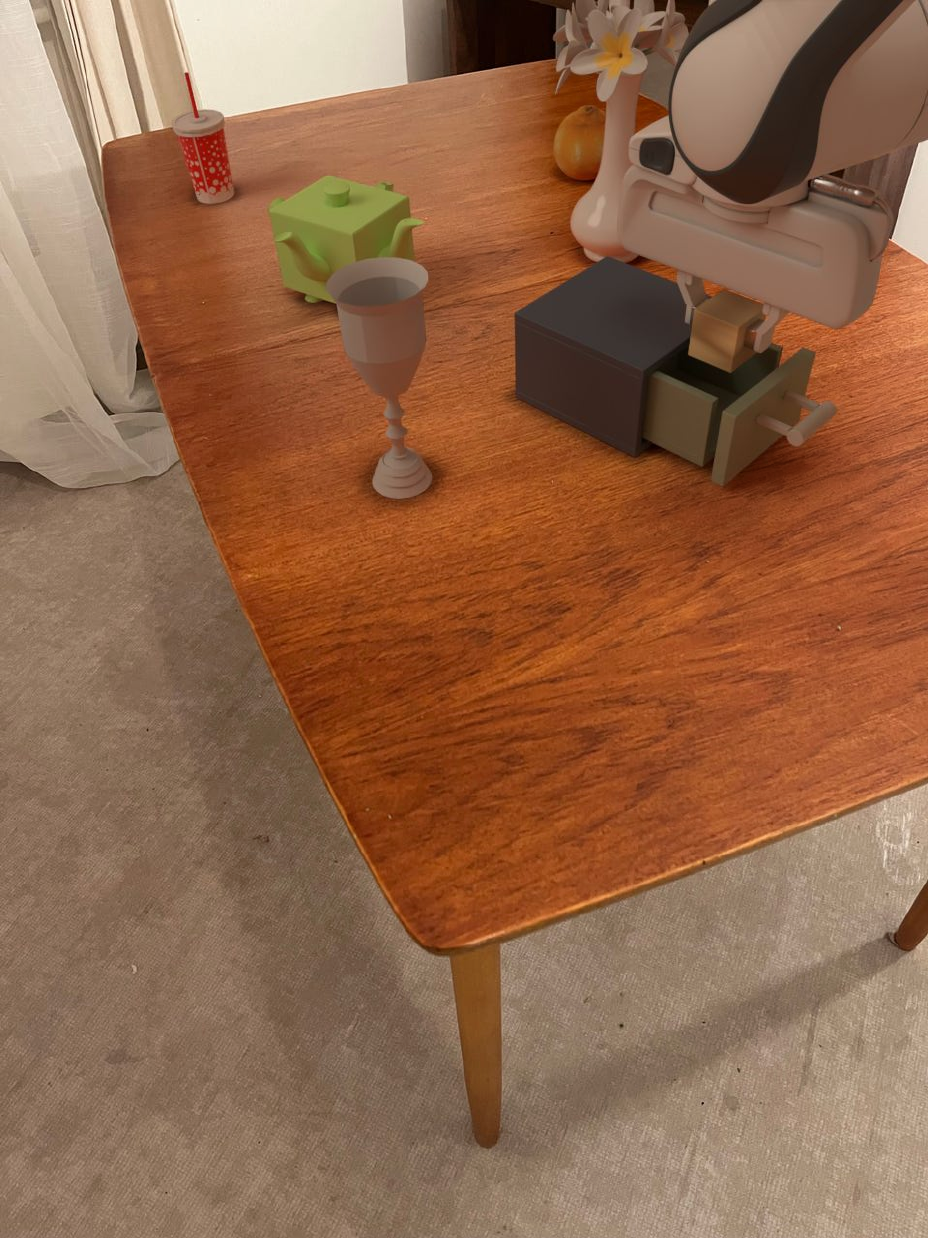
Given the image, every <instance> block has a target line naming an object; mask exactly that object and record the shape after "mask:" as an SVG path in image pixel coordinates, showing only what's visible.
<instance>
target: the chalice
mask: <svg viewBox="0 0 928 1238" xmlns="http://www.w3.org/2000/svg"><path fill="white" fill-rule="evenodd" d="M429 280H430V279H429V272H428V271H427V269H426V268H425V267H423V265H422V264H419V262H418V263H417V262H416V261H415V262H413V261H411V260H407V259H402V258H392V257H380V258H371V259H365V260H362V261H358V262H354V263H351V264H349V265H347V266H344V267H342V268H340V269H339V270H338V271H336V272H335V273H334V274H332V275H331V277H330V278H329V280H328V281H327V292H328V293H329V294H330V296H331V297H332V298H333V300H334V301H335V302H336V309H337V317H338V322H339V330H340V334H341V341H342V347H343V351H344V352H345V354H346V356H347V358H348V359H349V361H350V363H351V364H352V366H353V367H354V370H355V371H356V372H357V374H358V375H359V376H360V377H361V379H362V380H363V381H364V383H365V384H366V385H367V386H368V388H369V389H370V390H371V391H372V392H373V394H374V395H375V396H377V397H380V398H385V401H386V404H385V410H384V411H383V416H384V417H385V418H386V420H387V421H388V428H387V429H385V432H384V434H385V436H386V437H387V438H388V439H389V440H390V442H391V448H389V449H388V450H386V451H385V452H384V453H383V454H382V455H381V456H380V458H379V460H378V462H377V466H376V468H375V471H374V474H373V477H372V487H373V488H374V490H375V492H377V494H380V495H381V496H383V497H386V498H389V499H398V500H403V499H410V498H413V497H417V496H419V495H421V494H422V493H423V492H425V491H426V490H427V489H428V488H429V487H430V486H431V484H432V482H433V472H432V471H431V470H430V468H429V467H428V466H427V464H426V462H425V460H424V459H423V458H422V457H423V456H421V454H420V453H419V452H417V451H415V450H414V449H413V448H411V447H407V446H405V444H404V442H405V437H406V436H407V434H408V433H409V432H408V428H407V427H405V426H403V425H404V424H403V423H402V418H403V416H404V414H405V410H404V408H402V407H401V403H400V401H399V397H400V396H402V395H404V394H405V393H407V391H408V390H409V388H410V386H411V384H412V381H413V380H414V377H415V375H416V373H417V371H418V368H419V366H420V364H421V361H422V357H423V354H424V352H425V348H426V344H427V341H428V340H427V330H426V329H427V328H426V319H425V318H426V317H425V307H424V296H423V294H424V291H425V288H426V287H427V284H428V283H429Z"/></svg>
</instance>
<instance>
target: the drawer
mask: <svg viewBox="0 0 928 1238" xmlns="http://www.w3.org/2000/svg"><path fill="white" fill-rule="evenodd" d="M783 350H784V347H783V346H782V345H778V344H776V343H773V342H771V344H770V346H769V347H768V348H767V349H766V350H764V351H763V352H762V353H758V352H757V353H756V354H755V355H753V356H752V357H751V358H750V359H748V360H747V361H746V362H744V363H743V364H742V365H741V366H739V367H738V368H737V369H735V370H734V371H733V372H731V373H729V372H727V371H725V370H722V369H720V368H718V367H715V366H713V365H711V364H708V363H706V362H704V361H701V360H699V359H697V358H694V357H692V356H690V355H688V352H689V346H688V347H686V348H685V349H683V350H682V351H681V352H679V353H678V354H677V355H675V356H674V357H672V358H671V359H670V360H668V361H667V362H666V363H664V364H663V365H661V366H660V367H659V368H657V369H656V370H654V371H653V372H652V373H650V374H649V375H648V384H647V393H646V403H645V413H644V422H643V432H642V438H644V439H646V440H648V441H650V442H652V443H653V444H654V445H656V446H659V447H660V448H662V449H664V450H667V451H669V452H671V453H673V454H675V455H677V456H679V457H681V458H683V459H684V460H687V461H688V462H691V463H693V464H695V465H697V466H699V467H701V468H703V467H704V466H705V465H706V464H708V463H709V462H710V461H712V460H713V465H712V471H711V477H710V482H711V483H713V484H716V485H718V486H720V487H722V488H723V487H725V486H726V485H727V484H728V483H729V482H731V481H732V480H733V479H734V478H735V477H736V476H738V475H739V474H740V473H741V472H742V471H743V470H745V469H746V468H747V467H748V466H749V465H750V464H751V463H753V462H754V461H755V460H756V459H758V457H759V456H760V455H762V454H763V453H764V452H765V451H766V450H767V449H769V448H770V447H771V446H772V445H773V444H775V443H776V442H777V441H778V440H779V439H780V438H782V437H783V436H784V437H786V440H787V441H788V443H789V444H790V445H791V446H792V447H801V446H802V445H804V443H806V442H807V441H808V440H809V439H811V437H813V435H815V434H816V433H817V432H818V431H819V430H820V429H821V428H823V427H824V426H825V425H826V424H827V423H828V422H829V421H831V420H832V419H833V418H834V417H835V416H836V415H837V413H838V408H837V406H836V404H835V403H834V402H833V401H830V400H825V401H822V402H821V403H820V402H818V401H815V400H813V399H811V398H808V397H806V394H807V390H808V385H809V382H810V377H811V374H812V370H813V365H814V361H815V358H816V354H817V352H816V351H814V350H812V349H808V348H806V347H801V348H800V349H799V350H798V351H797V352H795V353H794V354H793V355H791V356H790V357H789V358H788V359H786V360H785V361H784V362H782V364H781V360H782V356H783ZM803 409H805V410H808V411H810V413H808V414H807V415H806V416H805V417H804V418H803V419H801V414H802V410H803ZM800 419H801V420H800Z"/></svg>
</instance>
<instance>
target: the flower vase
mask: <svg viewBox="0 0 928 1238" xmlns="http://www.w3.org/2000/svg"><path fill="white" fill-rule="evenodd" d="M630 5H631V0H597V4H596V1H595V0H575V3H574V2H572V5H571V11H570V9H567V10H566V13H565V21H564V22H565V24H564V25H563V26H561V27H559V28H558V30H556V32H555V33H554V34H553V36H552V40H553V41H554V42H555V43H556V42H557V43H561V42H562V43H563V42H567V41H568V44H567V46H565V47H564V48H562V50H561V51H560V53H559V55H558V58H557V60H556V64H555V65H556V66H555V71H556V73H559V72H561V71H562V73H561V75H560V76H559V80H558V82H557V85H556V89H555V92H554V95H557V94H558V93H559V91H560V90H561V88H562V86H563V85H564V84H565V82H566V81H567V80H568V78H569V77H570V75H571V74H572V73H573V74H576V75H580V76H585V75H591V74H595V73H599V75H598V77H597V81H596V87H595V88H596V96H597V98H598V100H599V101H600V102H605V112H606V120H605V132H604V143H603V153H602V160H601V165H600V169H599V172H598V175H597V177H596V179H594V182H593V184H592V185H591V188H589V190H588V191H586V192H585V193H584V194H583V195H582V197H580V198H579V200H578V201H577V202H576V204H575V205H574V207H573V210H572V212H571V215H570V219H569V220H570V221H569V226H570V231H571V232H570V233H571V234H572V236H573V238H574V240H576V242H577V243H578V244H579V245H580V246H581V247H583V252H584V255H585V256H586V258H588V259H589V260H590V261H593V262H594V263H597V262H598V261H600V260H601V259H603V258H605V257H606V256H608V257H611V258H613V259H616V260H619V261H621V262H624V263H626V264H628V263H631V262H632V261H633V260H635V259H637V258H638V257H639V255H637V254H634V253H632V252H629V251H627V250H625V249H624V247H623V246H622V244H621V242H620V240H619V237H618V235H617V218H618V207H619V199H620V193H621V187H622V182H623V179H624V176H625V174H626V172H627V171H628V169H629V168H630V167H631V166H633V164H632V163H631V162H630V159H629V141H630V139H631V137H632V136H633V135H635V134H636V120H637V107H638V100H639V96H640V95H639V94H640V91H641V86H642V81H643V78H644V75H645V73H646V72H647V70H648V66H649V61H648V58H647V56H648V55H652V54H654V53H658V54H659V55H660V56H661V57H662V58H663V59H664V60H665V61H667V62H668V63H670V64H671V65H672V66H673V67H674V68H675V66H676V63H677V60H678V58H679V55H680V52H678V51H681V50H682V48H683V45H684V43H685V41H686V39H687V37H688V35H689V33H690V32H689V28H688V26H687V25H686V24H685V22H686V17H685V16H684V15H685V14H682V13H681V12H677V11H676V3H675V0H667V5H666V8H665V10H664V11H663V10H660V11H659V10H658V11H655V2H654V0H634V1H633V8H630ZM579 20H580V21H579ZM591 41H592V43H591V45H590V47H588V45H587V43H589V42H591ZM644 48H645V49H644ZM642 49H644V50H642Z"/></svg>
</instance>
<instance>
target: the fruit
mask: <svg viewBox="0 0 928 1238" xmlns="http://www.w3.org/2000/svg"><path fill="white" fill-rule="evenodd" d="M605 120H606V110H605V111H604V110H602V109H600V108H599V107H598V106H595V105H593V104H587V105H582V106H580V107H578V109H577V110H575V111H572V112H570V113H569V114H568V115H567V116H566V117H565V118H563V120H562V121H561V123H560V124H559V126H558V128H557V130H556V132H555V135H554V139H553V145H552V154H553V159H554V161H555V164H556V165H557V167H558V169H560V171H561V172H562V173H563V174H564V175H566V176H567V177H568V178H570V179H573V180H577V181H592V180H596V177H597V175H598V172H599V169H600V165H601V160H602V153H603V143H604V132H605Z"/></svg>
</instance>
